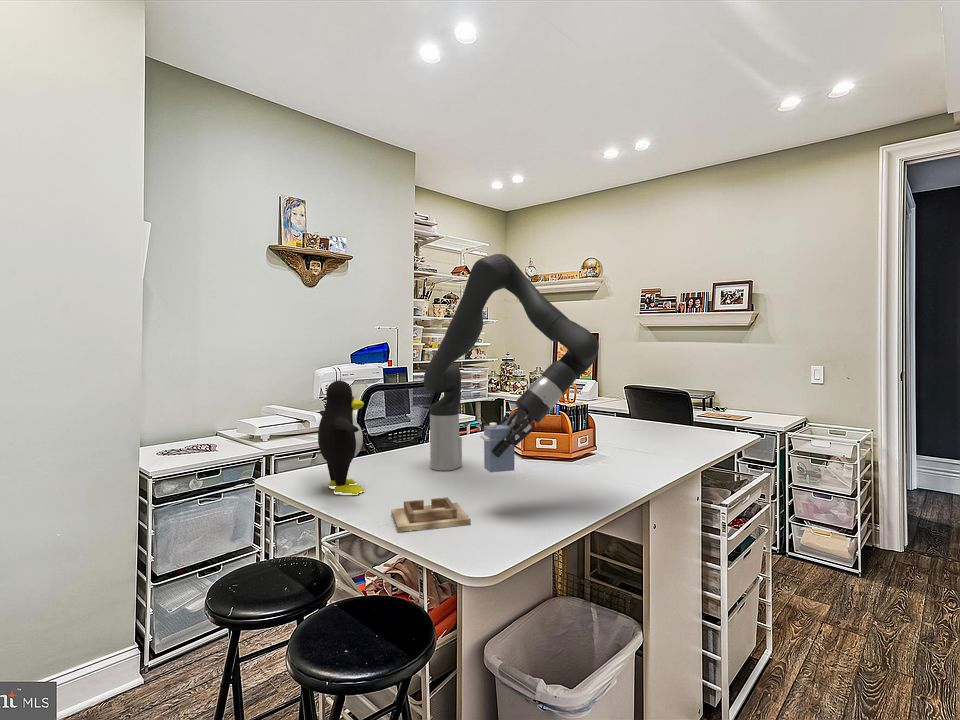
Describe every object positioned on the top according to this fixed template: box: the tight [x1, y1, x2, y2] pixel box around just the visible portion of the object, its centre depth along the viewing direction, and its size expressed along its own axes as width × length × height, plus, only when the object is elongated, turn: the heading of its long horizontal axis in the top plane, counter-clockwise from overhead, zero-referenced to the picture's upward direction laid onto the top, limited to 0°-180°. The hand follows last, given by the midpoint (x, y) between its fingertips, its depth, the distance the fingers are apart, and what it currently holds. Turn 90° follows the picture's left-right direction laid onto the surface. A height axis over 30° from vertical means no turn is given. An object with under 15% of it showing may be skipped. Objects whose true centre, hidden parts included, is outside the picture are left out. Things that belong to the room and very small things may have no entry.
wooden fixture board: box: [390, 497, 472, 533], centre depth 116 cm, size 16×12×3 cm
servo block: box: [480, 422, 515, 473], centre depth 120 cm, size 8×4×11 cm, turn 107°
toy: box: [317, 380, 365, 494], centre depth 139 cm, size 37×12×30 cm, turn 30°
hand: (491, 452), depth 120 cm, fingers closed on servo block, 4 cm apart
